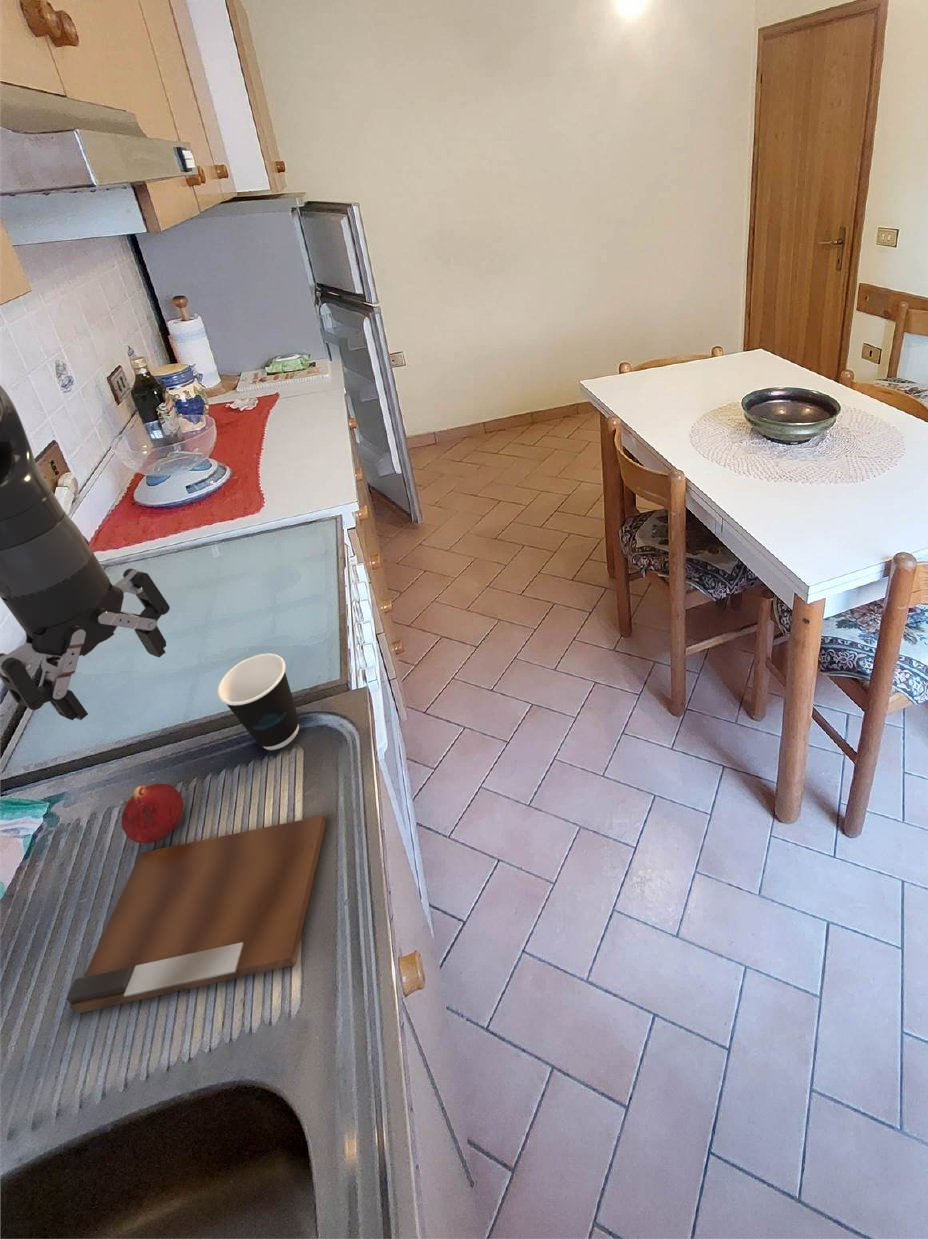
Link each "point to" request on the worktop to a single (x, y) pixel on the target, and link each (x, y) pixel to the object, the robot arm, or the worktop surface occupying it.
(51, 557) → the robot arm
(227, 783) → the worktop surface
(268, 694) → the dixie cup
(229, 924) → the cutting board
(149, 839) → the onion
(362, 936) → the worktop surface
